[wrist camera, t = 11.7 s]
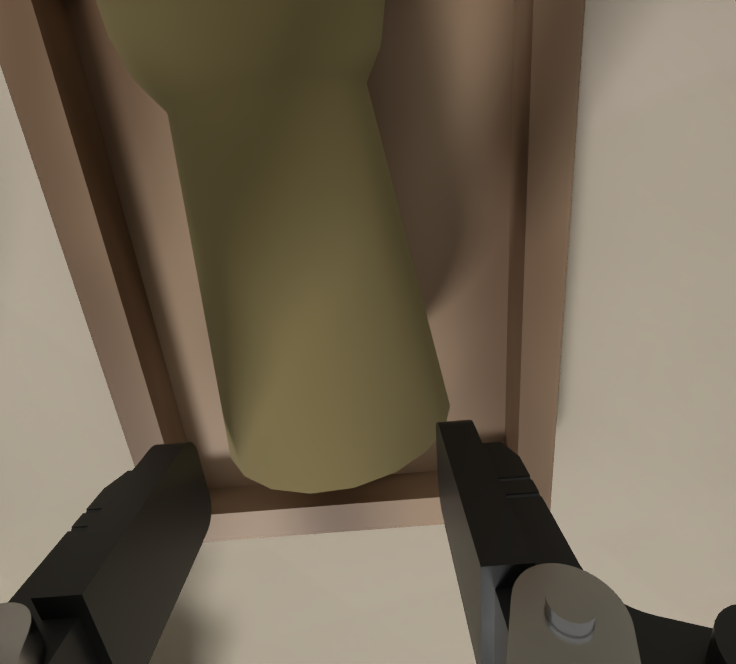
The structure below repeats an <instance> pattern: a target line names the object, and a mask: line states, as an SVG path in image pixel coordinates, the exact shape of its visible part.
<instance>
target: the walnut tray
mask: <svg viewBox="0 0 736 664" xmlns="http://www.w3.org/2000/svg"><path fill="white" fill-rule="evenodd" d="M584 12H585V0H385V5H384V18H383V30H382V41H381V47H380V50H379V52H378V55H377V57H376V60H375V63H374V65H373V68H372V70H371V73H370V75H369V78H368V80H367V86H368V90H369V94H370V98H371V102H372V106H373V110H374V114H375V117H376V121H377V125H378V129H379V133H380V137H381V141H382V144H383V148H384V152H385V156H386V160H387V164H388V168H389V172H390V175H391V179H392V183H393V187H394V191H395V195H396V199H397V202H398V206H399V210H400V214H401V218H402V222H403V226H404V229H405V233H406V237H407V241H408V245H409V249H410V253H411V257H412V260H413V264H414V268H415V272H416V276H417V280H418V284H419V287H420V291H421V295H422V299H423V303H424V307H425V311H426V314H427V318H428V322H429V326H430V330H431V334H432V338H433V342H434V345H435V349H436V353H437V357H438V361H439V365H440V369H441V372H442V376H443V380H444V384H445V388H446V392H447V396H448V400H449V403H450V408H449V413H448V417H447V421H458V420H472V421H473V423H474V425H475V427H476V429H477V432H478V434H479V436H480V438H481V441H482V443H490V442H502V443H503V444H504V445H506V446H507V447H508V448H509V449H511V450H512V451H513V452H515V453H516V454H517V455H518V456H520V458H521V460H522V462H523V463H524V465H525V467H526V469H527V471H528V472H529V474H530V478H531V479H532V480H533V481H534V483H535V485H536V487H537V489H538V490H539V494H540V496H542V498H543V499H544V501H545V503H546V505H547V507H548V509H549V510H550V506H551V491H552V477H553V462H554V448H555V433H556V418H557V404H558V389H559V375H560V360H561V346H562V331H563V317H564V302H565V288H566V273H567V259H568V244H569V230H570V215H571V201H572V186H573V172H574V157H575V142H576V128H577V113H578V99H579V84H580V70H581V55H582V41H583V26H584ZM0 65H1V68H2V71H3V74H4V77H5V80H6V83H7V86H8V89H9V92H10V95H11V98H12V101H13V104H14V107H15V110H16V113H17V116H18V119H19V122H20V125H21V128H22V131H23V134H24V137H25V140H26V143H27V146H28V149H29V152H30V155H31V158H32V161H33V164H34V167H35V169H36V172H37V175H38V178H39V181H40V184H41V187H42V190H43V193H44V196H45V199H46V202H47V205H48V208H49V211H50V214H51V217H52V220H53V223H54V226H55V229H56V232H57V235H58V238H59V241H60V244H61V247H62V250H63V253H64V256H65V259H66V262H67V265H68V268H69V271H70V274H71V277H72V280H73V283H74V286H75V289H76V292H77V295H78V298H79V301H80V304H81V307H82V310H83V313H84V316H85V319H86V322H87V325H88V328H89V331H90V334H91V337H92V340H93V343H94V346H95V349H96V352H97V355H98V358H99V361H100V364H101V367H102V370H103V373H104V376H105V379H106V382H107V385H108V388H109V391H110V394H111V397H112V400H113V403H114V406H115V409H116V411H117V414H118V417H119V420H120V423H121V426H122V429H123V432H124V435H125V438H126V441H127V444H128V447H129V450H130V453H131V456H132V459H133V462H134V465H135V467H136V465H137V464H138V463H139V462H140V460H141V459H142V458H143V457H144V455H145V454H146V453H147V452H148V450H149V449H150V448H151V447H152V446H154V445H158V444H170V443H183V442H192V443H193V444H194V445H195V446H196V448H197V451H198V454H199V458H200V462H201V465H202V469H203V473H204V476H205V480H206V484H207V487H208V491H209V495H210V499H211V507H212V511H211V521H210V525H209V529H208V531H207V534H206V536H205V538H204V540H203V542H211V541H224V540H237V539H251V538H264V537H277V536H291V535H304V534H317V533H331V532H344V531H357V530H371V529H384V528H397V527H411V526H424V525H437V524H444V519H443V515H442V510H441V504H440V497H439V488H438V470H437V447H436V440H435V441H434V442H433V444H432V445H431V446H430V448H429V449H428V450H427V451H426V452H425V453H423V454H422V455H420V456H419V457H417V458H416V459H414V460H413V461H411V462H410V463H409V464H407V465H406V466H404V467H403V468H401V469H400V470H398V471H397V472H395V473H393V474H390V475H387V476H385V477H382V478H379V479H376V480H374V481H371V482H368V483H366V484H363V485H360V486H358V487H355V488H349V489H342V490H334V491H327V492H319V493H312V494H309V493H300V492H291V491H283V490H274V489H270V488H268V487H266V486H264V485H262V484H260V483H258V482H256V481H254V480H251V479H249V478H247V477H245V476H244V475H243V473H242V472H241V471H240V469H239V468H238V467H237V465H236V464H235V463H234V461H233V460H232V459H231V456H230V451H229V445H228V440H227V434H226V429H225V424H224V418H223V413H222V407H221V402H220V396H219V391H218V386H217V380H216V375H215V369H214V364H213V358H212V353H211V348H210V342H209V337H208V331H207V326H206V320H205V315H204V310H203V304H202V299H201V293H200V288H199V282H198V277H197V272H196V266H195V261H194V255H193V250H192V244H191V239H190V234H189V228H188V223H187V217H186V212H185V206H184V201H183V196H182V190H181V185H180V179H179V174H178V168H177V163H176V158H175V152H174V147H173V141H172V136H171V130H170V125H169V120H168V114H167V112H166V111H165V110H164V109H163V108H162V107H160V106H159V105H158V104H157V103H156V102H155V101H154V100H153V99H152V98H151V97H150V96H149V95H148V94H147V93H146V92H145V91H144V90H143V89H142V88H141V87H140V86H139V85H138V84H137V83H136V82H135V80H134V79H133V78H132V77H131V75H130V74H129V72H128V70H127V68H126V67H125V65H124V63H123V62H122V60H121V58H120V56H119V55H118V53H117V51H116V49H115V48H114V46H113V44H112V42H111V41H110V39H109V37H108V34H107V31H106V29H105V26H104V23H103V20H102V17H101V14H100V12H99V9H98V6H97V3H96V0H0Z"/></svg>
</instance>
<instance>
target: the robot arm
mask: <svg viewBox="0 0 736 664" xmlns="http://www.w3.org/2000/svg"><path fill="white" fill-rule="evenodd" d="M436 447H437V470H438V488H439V497H440V504H441V510H442V515H443V519H444V524H445V528H446V532H447V537H448V541H449V545H450V550H451V554H452V559H453V563H454V567H455V572H456V576H457V580H458V585H459V589H460V593H461V598H462V602H463V607H464V611H465V615H466V620H467V624H468V628H469V633H470V637H471V642H472V646H473V650H474V655H475V659H476V663H477V664H736V605H731V606H729V607H727V608H725V609H723V610H722V611H721V612H720V613H719V614H718V616H717V618H716V620H715V623H714V627H713V629H712V628H708V627H704V626H699V625H695V624H690V623H686V622H682V621H677V620H673V619H668V618H664V617H659V616H655V615H652V614H648V613H644V612H642V611H639V610H636V609H634V608H631V607H629V606H627V605H625V604H624V603H623V602H622V600H621V599H620V598H619V597H618V595H617V594H616V593H615V592H614V591H613V590H612V589H611V588H610V587H609V586H607V585H606V584H605V583H604V582H602V581H601V580H600V579H598V578H597V577H595V576H593V575H592V574H590V573H588V572H586V571H584V570H583V569H582V567H581V566H580V564H579V563H578V561H577V559H576V557H575V555H574V554H573V552H572V550H571V548H570V546H569V545H568V543H567V541H566V539H565V537H564V536H563V534H562V532H561V530H560V528H559V527H558V525H557V523H556V521H555V519H554V518H553V516H552V514H551V512H550V510H549V509H548V507H547V505H546V503H545V501H544V499H543V498H542V496H540V494H539V490H538V489H537V487H536V485H535V483H534V481H533V480H532V479H531V478H530V474H529V472H528V471H527V469H526V467H525V465H524V463H523V462H522V460H521V458H520V456H518V455H517V454H516V453H515V452H513V451H512V450H511V449H509V448H508V447H507V446H506V445H504V444H503V443H502V442H490V443H482V441H481V438H480V436H479V434H478V432H477V429H476V427H475V425H474V423H473V421H472V420H458V421H446V422H437V423H436ZM211 511H212V507H211V499H210V495H209V491H208V487H207V484H206V480H205V476H204V473H203V469H202V465H201V462H200V458H199V454H198V451H197V448H196V446H195V445H194V444H193V443H192V442H183V443H170V444H158V445H154V446H152V447H151V448H150V449H149V450H148V452H147V453H146V454H145V455H144V457H143V458H142V459H141V460H140V462H139V463H138V464H137V465H136V467H135V468H134V469H133V470H132V471H127V472H126V473H124V474H123V475H122V476H120V477H119V478H118V479H116V480H115V481H114V482H112V483H111V484H110V485H108V486H107V487H106V488H104V489H103V490H102V492H101V493H100V494H99V495H98V496H97V497H96V499H95V500H94V501H93V502H92V503H91V505H90V506H89V507H88V508H87V512H86V513H83V514H82V515H81V516H80V518H79V519H78V520H77V521H76V522H75V524H74V525H73V526H72V530H71V531H69V532H67V533H66V534H65V535H64V537H63V538H62V539H61V540H60V541H59V542H58V544H57V545H56V546H55V547H54V548H53V550H52V551H51V552H50V553H49V554H48V556H47V557H46V558H45V559H44V560H43V561H42V563H41V564H40V565H39V566H38V567H37V569H36V570H35V571H34V572H33V573H32V574H31V576H30V577H29V578H28V579H27V580H26V582H25V583H24V584H23V585H22V586H21V588H20V589H19V590H18V591H17V592H16V593H15V595H14V596H13V597H12V598H11V599H10V601H9V602H8V603H1V604H0V664H148V663H149V661H150V659H151V656H152V654H153V652H154V650H155V648H156V645H157V643H158V641H159V639H160V636H161V634H162V632H163V630H164V627H165V625H166V623H167V621H168V618H169V616H170V614H171V612H172V610H173V607H174V605H175V603H176V601H177V598H178V596H179V594H180V592H181V589H182V587H183V585H184V583H185V581H186V578H187V576H188V574H189V572H190V569H191V567H192V565H193V563H194V560H195V558H196V556H197V554H198V552H199V549H200V547H201V545H202V543H203V540H204V538H205V536H206V534H207V531H208V529H209V525H210V521H211Z"/></svg>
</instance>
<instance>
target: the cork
mask: <svg viewBox="0 0 736 664" xmlns="http://www.w3.org/2000/svg"><path fill="white" fill-rule="evenodd" d="M96 3H97V6H98V9H99V12H100V14H101V17H102V20H103V23H104V26H105V29H106V31H107V34H108V37H109V39H110V41H111V42H112V44H113V46H114V48H115V49H116V51H117V53H118V55H119V56H120V58H121V60H122V62H123V63H124V65H125V67H126V68H127V70H128V72H129V74H130V75H131V77H132V78H133V79H134V80H135V82H136V83H137V84H138V85H139V86H140V87H141V88H142V89H143V90H144V91H145V92H146V93H147V94H148V95H149V96H150V97H151V98H152V99H153V100H154V101H155V102H156V103H157V104H158V105H159V106H160V107H162V108H163V109H164V110H165V111H166V112H167V114H168V120H169V125H170V130H171V136H172V141H173V147H174V152H175V158H176V163H177V168H178V174H179V179H180V185H181V190H182V196H183V201H184V206H185V212H186V217H187V223H188V228H189V234H190V239H191V244H192V250H193V255H194V261H195V266H196V272H197V277H198V282H199V288H200V293H201V299H202V304H203V310H204V315H205V320H206V326H207V331H208V337H209V342H210V348H211V353H212V358H213V364H214V369H215V375H216V380H217V386H218V391H219V396H220V402H221V407H222V413H223V418H224V424H225V429H226V434H227V440H228V445H229V451H230V456H231V459H232V460H233V461H234V463H235V464H236V465H237V467H238V468H239V469H240V471H241V472H242V473H243V475H244V476H245V477H247V478H249V479H251V480H254V481H256V482H258V483H260V484H262V485H264V486H266V487H268V488H270V489H274V490H283V491H291V492H300V493H309V494H312V493H319V492H327V491H334V490H342V489H349V488H355V487H358V486H360V485H363V484H366V483H368V482H371V481H374V480H376V479H379V478H382V477H385V476H387V475H390V474H393V473H395V472H397V471H398V470H400V469H401V468H403V467H404V466H406V465H407V464H409V463H410V462H411V461H413V460H414V459H416V458H417V457H419V456H420V455H422V454H423V453H425V452H426V451H427V450H428V449H429V448H430V446H431V445H432V444H433V442H434V441H435V440H436V423H437V422H446V421H447V417H448V413H449V408H450V403H449V400H448V396H447V392H446V388H445V384H444V380H443V376H442V372H441V369H440V365H439V361H438V357H437V353H436V349H435V345H434V342H433V338H432V334H431V330H430V326H429V322H428V318H427V314H426V311H425V307H424V303H423V299H422V295H421V291H420V287H419V284H418V280H417V276H416V272H415V268H414V264H413V260H412V257H411V253H410V249H409V245H408V241H407V237H406V233H405V229H404V226H403V222H402V218H401V214H400V210H399V206H398V202H397V199H396V195H395V191H394V187H393V183H392V179H391V175H390V172H389V168H388V164H387V160H386V156H385V152H384V148H383V144H382V141H381V137H380V133H379V129H378V125H377V121H376V117H375V114H374V110H373V106H372V102H371V98H370V94H369V90H368V86H367V80H368V78H369V75H370V73H371V70H372V68H373V65H374V63H375V60H376V57H377V55H378V52H379V50H380V47H381V41H382V30H383V18H384V5H385V0H96Z"/></svg>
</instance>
